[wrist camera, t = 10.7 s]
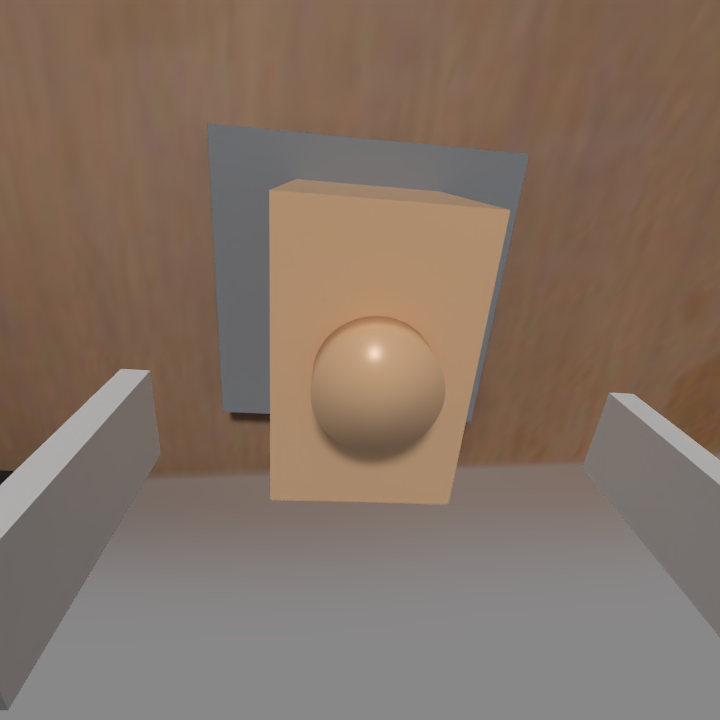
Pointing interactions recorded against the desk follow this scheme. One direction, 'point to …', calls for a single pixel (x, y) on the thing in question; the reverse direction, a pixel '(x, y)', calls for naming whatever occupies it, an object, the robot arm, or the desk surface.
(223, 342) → the grey square plate
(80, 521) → the robot arm
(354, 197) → the tan block with dome
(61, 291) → the desk surface
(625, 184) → the desk surface
